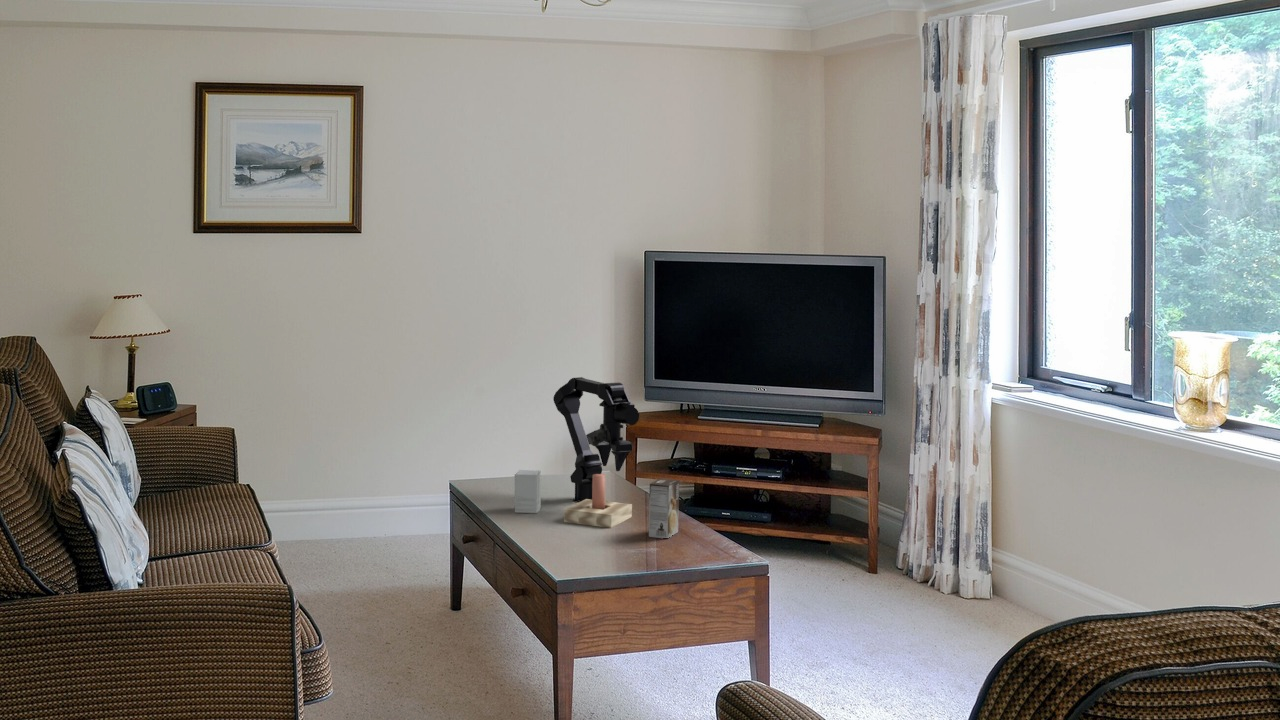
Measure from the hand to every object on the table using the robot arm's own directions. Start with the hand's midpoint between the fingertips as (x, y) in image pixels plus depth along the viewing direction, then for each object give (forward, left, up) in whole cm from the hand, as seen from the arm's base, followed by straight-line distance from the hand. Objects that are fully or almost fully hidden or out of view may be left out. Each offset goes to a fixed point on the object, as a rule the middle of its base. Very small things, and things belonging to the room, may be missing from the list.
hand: (611, 468), depth 356 cm
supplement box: (-22, -16, -13) cm, 30 cm away
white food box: (+28, -24, -13) cm, 39 cm away
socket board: (+3, -16, -13) cm, 21 cm away
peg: (+3, -16, -13) cm, 21 cm away
